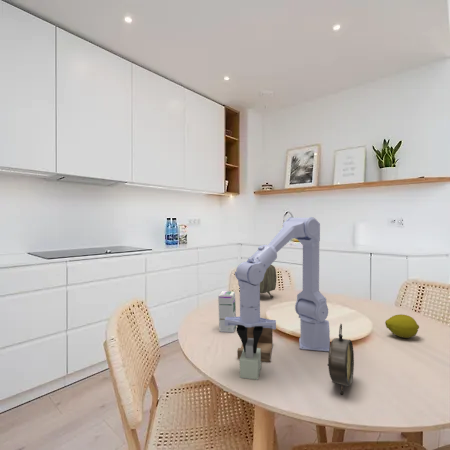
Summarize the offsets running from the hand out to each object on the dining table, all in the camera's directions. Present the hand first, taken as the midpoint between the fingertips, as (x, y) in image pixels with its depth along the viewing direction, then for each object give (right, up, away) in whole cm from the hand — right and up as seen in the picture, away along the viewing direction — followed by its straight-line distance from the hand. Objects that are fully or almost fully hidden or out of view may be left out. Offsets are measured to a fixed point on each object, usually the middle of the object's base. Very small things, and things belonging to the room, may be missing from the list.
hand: (250, 351), depth 84 cm
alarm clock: (+23, -6, -7) cm, 25 cm away
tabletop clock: (+12, -3, +72) cm, 73 cm away
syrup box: (-6, -5, +30) cm, 31 cm away
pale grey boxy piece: (0, -6, 0) cm, 6 cm away
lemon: (+56, -4, +21) cm, 60 cm away
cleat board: (+3, -5, +12) cm, 14 cm away
